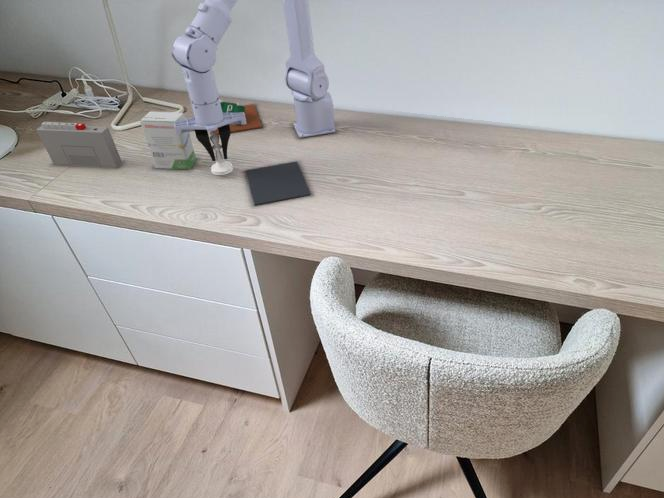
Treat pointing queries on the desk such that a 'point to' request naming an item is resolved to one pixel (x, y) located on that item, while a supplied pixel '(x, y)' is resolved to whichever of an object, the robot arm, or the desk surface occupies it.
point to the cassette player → (79, 145)
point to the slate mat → (276, 183)
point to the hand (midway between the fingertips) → (219, 158)
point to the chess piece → (219, 157)
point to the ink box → (167, 141)
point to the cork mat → (247, 121)
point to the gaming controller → (232, 107)
